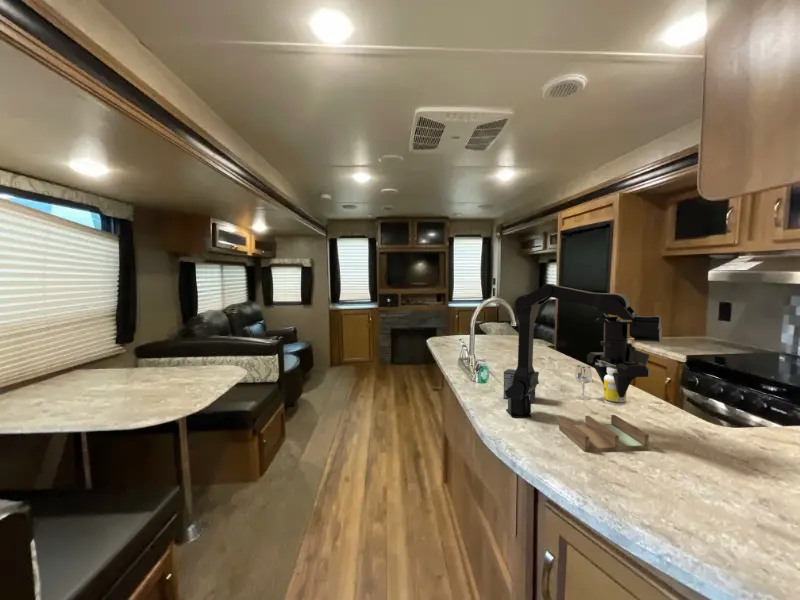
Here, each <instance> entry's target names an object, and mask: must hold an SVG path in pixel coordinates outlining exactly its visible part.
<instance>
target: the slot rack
mask: <svg viewBox="0 0 800 600" xmlns="http://www.w3.org/2000/svg"><path fill="white" fill-rule="evenodd" d="M610 416H611V419H610V424H602V423H601V422H599V421H597V420H596V419H595V418H593V417H591V416H590V415H585V418H584V419H585V422H584V425H574V424H573V423H572V422H570V420H568V419H567V418H565V416H559V417H558V424H559V425H558V429H559V432H561V433H562V434H564V435H565V436H566V437H567V438H568V439H569V440H571V442H573V443H574V444H575V445H576V446H577V447H579V448H580V449H581V450H582V451H583V452H585V453H589V452H591V453H592V452H622V451H648V450H649V437H650V435H649V434H648V433H646V432H644V431H642V430H641V429H639V428H638V427H636V426H635V425H633V424H631V423H629V422H628V421H626V420H624V419H623V418H621V417H619V416H617V415H615V414H611V415H610Z"/></svg>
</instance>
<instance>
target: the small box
mask: <svg viewBox="0 0 800 600" xmlns="http://www.w3.org/2000/svg"><path fill="white" fill-rule="evenodd" d="M515 371H516V369H512V368H507V369H506V370H504V371H503V398H502V399H503V400H507V401H508V398H507V397H506V394H505V391H506V390H507V389H508V388H509V387H511V386H512V381H513V377H514V373H515ZM528 396H529V397H530V399H529V400H530V401H531V404H533V402H534V401H535V400H536V388H535V389H534V390H532V391H531V394H529V395H528Z"/></svg>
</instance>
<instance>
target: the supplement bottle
mask: <svg viewBox="0 0 800 600" xmlns="http://www.w3.org/2000/svg"><path fill="white" fill-rule="evenodd" d="M607 373H608V375H605V376H604V385H603V401H604V402H605V403H606V404H608V405H612V406H618V407H621V406H622V407H623V406H625V405H627V393H626V394H625V396H624V397H623V398H620V397H619V395H618V392H617V388H616V384H615V381H614V377H613V373H618V372H617V368H616V367H607Z"/></svg>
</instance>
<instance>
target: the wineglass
mask: <svg viewBox="0 0 800 600" xmlns="http://www.w3.org/2000/svg"><path fill="white" fill-rule="evenodd" d="M574 378H575V380H576V382H578V383H580V384H581V389H582V394H581V395H578V396H576V399H578V400H582V401H588V400H589V401H590V399H591V398H590V397H588V396H585V388H586V387H585V386H586V385H585V384H589V383H591V382H592V380H593V372H592V368H591V366H589V365H585V364H584V365H583V364H581V365H577V366H576V368H575V371H574Z"/></svg>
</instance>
